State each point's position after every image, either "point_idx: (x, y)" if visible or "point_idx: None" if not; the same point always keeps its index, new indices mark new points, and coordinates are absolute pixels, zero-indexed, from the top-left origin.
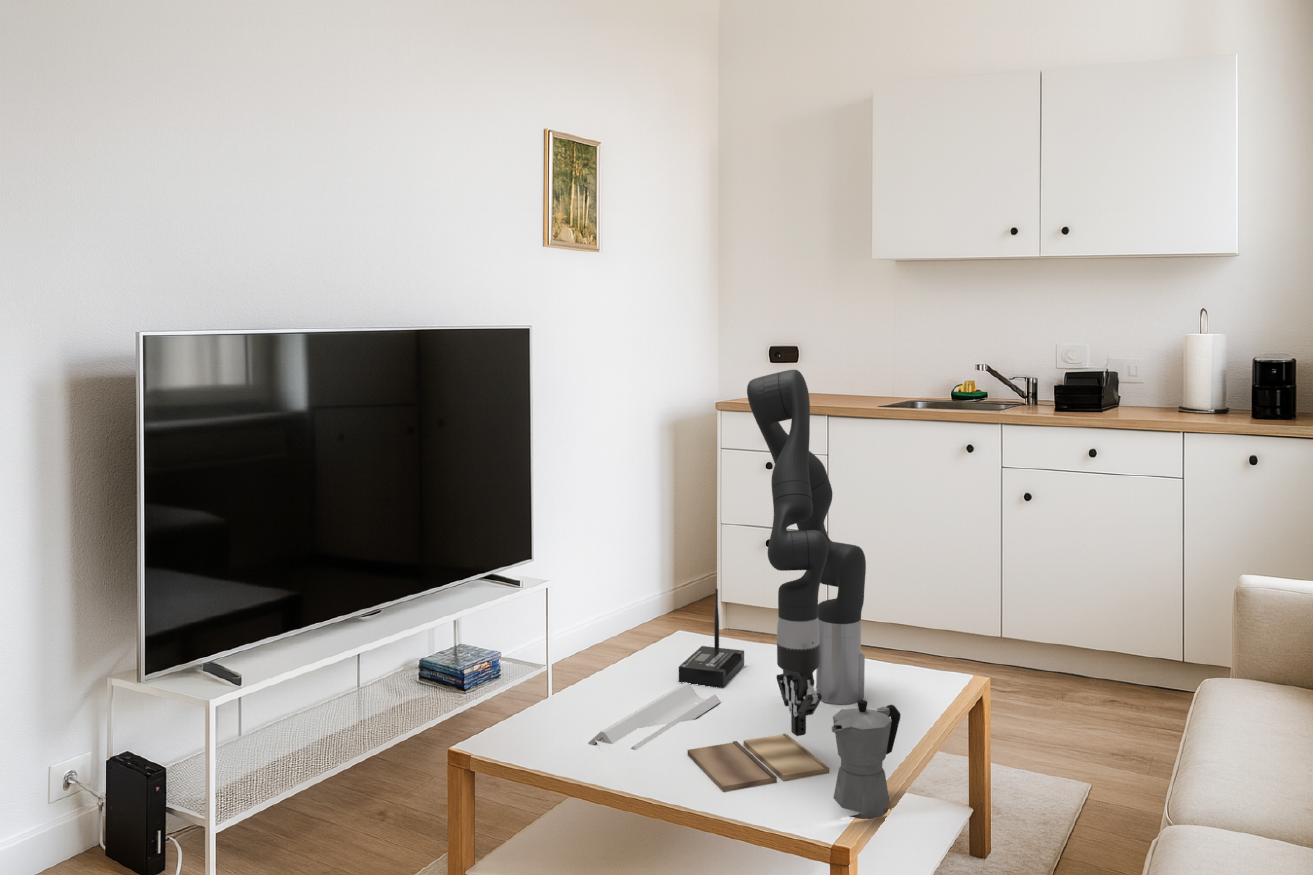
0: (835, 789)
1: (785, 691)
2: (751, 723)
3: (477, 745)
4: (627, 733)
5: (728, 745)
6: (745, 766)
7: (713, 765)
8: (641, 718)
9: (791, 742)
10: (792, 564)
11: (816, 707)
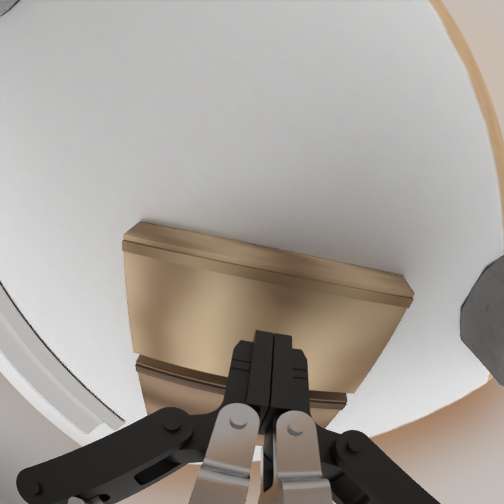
0: (476, 356)
1: (140, 486)
2: (22, 220)
3: (84, 445)
4: (70, 403)
5: (150, 382)
6: None
7: None
8: (34, 377)
9: (190, 267)
10: None
11: (408, 476)
